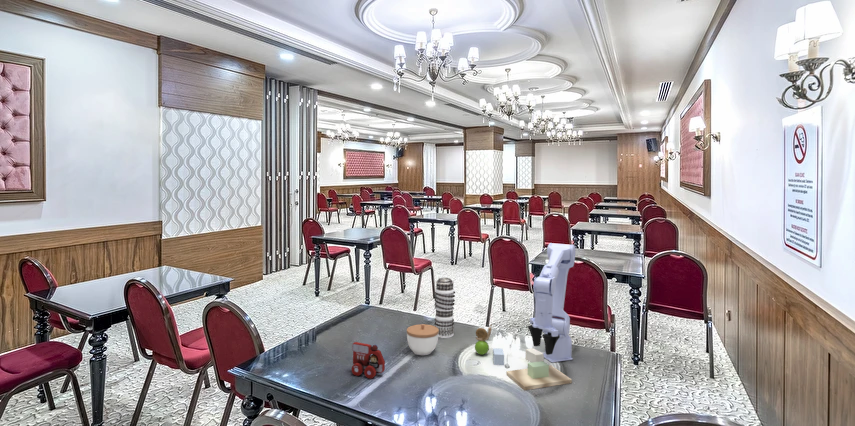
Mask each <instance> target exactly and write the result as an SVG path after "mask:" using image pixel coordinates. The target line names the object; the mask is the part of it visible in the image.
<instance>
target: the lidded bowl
mask: <svg viewBox="0 0 855 426" xmlns="http://www.w3.org/2000/svg"><path fill="white" fill-rule="evenodd" d="M438 333H439V329H438V328H437V327H435V325H432V324H424V323H421V324H414V325H411V326H408V327H407V328H406V338H407V339H406V340H407V345H408V347H409V348H410V350H411V351H412V352H413V354H414V355H418V356H428V355H431V354H432V352H433V351H434V350H435V349H436V347H437V345H438V342H439V337H438Z"/></svg>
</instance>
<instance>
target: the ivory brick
mask: <svg viewBox="0 0 855 426" xmlns="http://www.w3.org/2000/svg"><path fill="white" fill-rule="evenodd" d="M543 353H544V352H541V351H539V350H538V349H536V348H534V347H532V348H528V349H525V356H524V357H525V359H526V361H527V360H528V361H527V362H529V361H530V362H529V363H532V362H539V361H544V359H545V358H544V354H543ZM544 362H545V361H544Z"/></svg>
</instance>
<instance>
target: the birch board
mask: <svg viewBox="0 0 855 426" xmlns="http://www.w3.org/2000/svg"><path fill="white" fill-rule="evenodd" d="M548 365H549V364H548ZM505 373H506V374H505V375H506V376H507V377H508V378H510V380H511V381H513V382H514V383H515V384H516V385H518V386H519V387H520V388H521V389H522V390H523V391H528V390H529V391H530V390H535V389H542V388H549V387H555V386H561V385H567V384H568V385H569V384H572V383H573V379H572V378H570V377H569V376H567V375H566V374H564V373H563V372H562V371H560V370H558V369H557V368H556V367H554V366H553V365H552V364H550V365H549V376H548V377H542V378H535V379H533V378H531V377H530V376H529V375H528V367H527V368H522V369H514V370H508V371H506V372H505Z"/></svg>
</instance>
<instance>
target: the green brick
mask: <svg viewBox="0 0 855 426" xmlns="http://www.w3.org/2000/svg"><path fill="white" fill-rule="evenodd" d="M527 368H528V375H529V376H530V377H531V378H533V379H535V378H542V377H548V376H549V364H548V363H547V362H545V361H539V362H532V363H531V362H528V363H527Z"/></svg>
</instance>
